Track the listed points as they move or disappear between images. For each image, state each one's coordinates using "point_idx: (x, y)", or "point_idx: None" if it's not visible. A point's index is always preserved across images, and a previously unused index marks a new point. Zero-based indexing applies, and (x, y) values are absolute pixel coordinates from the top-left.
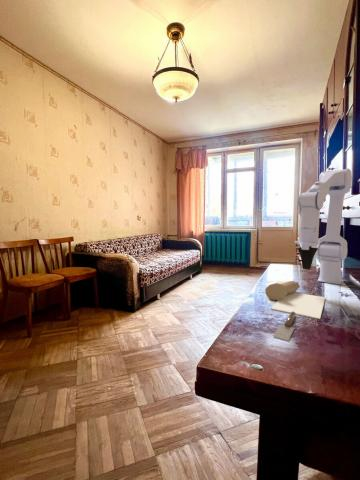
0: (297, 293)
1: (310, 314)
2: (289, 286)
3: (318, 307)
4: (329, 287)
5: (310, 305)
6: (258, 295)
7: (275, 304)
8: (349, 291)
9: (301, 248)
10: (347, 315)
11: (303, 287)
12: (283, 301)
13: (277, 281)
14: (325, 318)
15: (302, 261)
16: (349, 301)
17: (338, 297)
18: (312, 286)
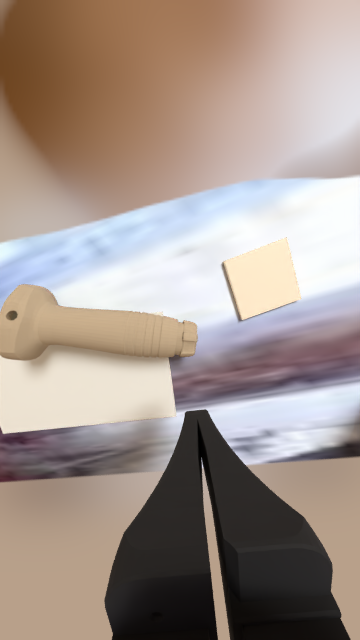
0: None
1: (8, 415)
2: (97, 350)
3: (73, 418)
4: (312, 404)
5: (73, 402)
6: (55, 255)
7: None
8: (295, 450)
9: (108, 615)
10: (78, 465)
11: (261, 343)
12: None
13: (280, 244)
14: (21, 437)
15: (177, 445)
16: None
17: None
18: (293, 362)
